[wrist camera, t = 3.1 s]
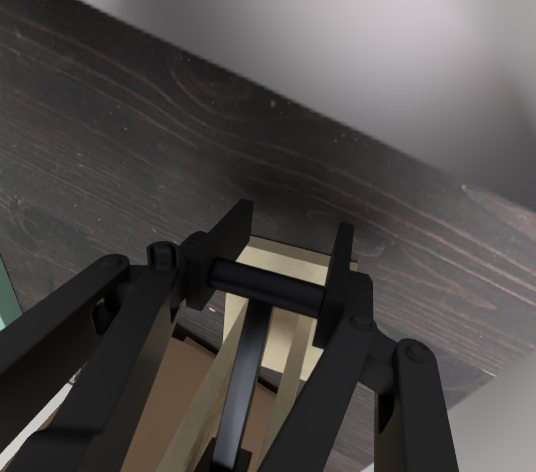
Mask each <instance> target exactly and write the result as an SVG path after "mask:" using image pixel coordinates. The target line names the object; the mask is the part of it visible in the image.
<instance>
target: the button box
mask: <svg viewBox="0 0 536 472" xmlns="http://www.w3.org/2000/svg"><path fill="white" fill-rule="evenodd" d="M21 315H23V314H22V311H21V308H20V306H19V303H18V301H17V298H16V295H15V293H14V290H13V288H12V285H11V282H10V280H9V277H8V275H7V272H6V269H5V267H4V264H3V262H2V259H1V257H0V331H1V330H2V329H4V328H5V327H6V326H8V325H9V324H10V323H12V322H13V321H14V320H16V319H17V318H19V317H20V316H21Z"/></svg>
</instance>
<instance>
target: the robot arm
mask: <svg viewBox="0 0 536 472" xmlns="http://www.w3.org/2000/svg"><path fill="white" fill-rule="evenodd" d="M253 205H254V201H249V200H245V199H241V200H240V201H239V202H238V203H237V204H236V205H235V206H234V207H233V208H232V209H231V210H230V211H229V212H228V213H227V214H226V215H225V216H224V217H223V218H222V219H221V220H220V221H219V222H218V224H217V225H216V226H215V227H214V228H213V229H212V230H211V231H210V232H209V233H206V232H202V231H198V232H195V233H193V234H191V235H190V236H189V237H188V238H186V239H185V240H184V241H183V242H182V243H181V245H179V246H177V245H176V244H175V243H173V242H168V241H160V242H155V243H152V244H150V245H149V246H148V247H147V258H148V265H130V262H129V259H128V258H127V257H126V256H124V255H121V254H110V255H106V256H103V257H101V258H100V259H98V260H97V261H95V262H94V263H93V264H91V265H90V266H88V267H87V268H86V269H84V270H83V271H82V272H80V273H79V274H77V275H76V276H75V277H73V278H72V279H71V280H69V281H68V282H67V283H65V284H64V285H62V286H61V287H60V288H58V289H57V290H56V291H54V292H53V293H51V294H50V295H49V296H47V297H46V298H45V299H43V300H42V301H40V302H39V303H38V304H36V305H35V306H34V307H32V308H31V309H30V310H28V311H27V312H25V313H24V314H23V315H21V316H20V317H19V318H17V319H16V320H14V321H13V322H12V323H10V324H9V325H8V326H6V327H5V328H4V329H2V330H1V331H0V454H1V453H2V452H3V451H4V449H5V448H6V447H7V446H8V445H9V444H10V443H11V442H12V441H13V440H14V439H15V438H16V437H17V436H18V434H19V433H20V432H21V431H22V430H23V429H24V428H25V427H26V426H27V425H28V424H29V423H30V421H32V420H33V418H34V417H35V416H36V415H37V414H38V413H39V412H40V411H41V410H42V409H43V408H44V407H45V406H46V405H47V404H48V402H49V401H50V400H51V399H52V398H53V397H54V396H55V395H56V394H57V393H58V392H59V391H60V390H61V389H62V388H63V386H64V385H65V384H66V383H67V382H68V381H69V380H70V379H71V378H72V377H73V376H74V375H75V374H76V373H77V371H78V370H79V369H80V368H81V367H82V366H83V365H84V364H85V363H86V362H87V361H88V360H89V361H88V362H87V364H86V365H85V367H84V369H83V370H82V372H81V374H80V375H79V377H78V378H77V380H76V382H75V383H74V385H73V387H72V388H71V390H70V391H69V393H68V395H67V396H66V398H65V400H64V401H63V403H62V404H61V406H60V408H59V409H58V411H57V413H56V414H55V416H54V417H53V419H52V421H51V422H50V423H49V425H48V426H47V427H46V428H45V429H43V430H39V431H35V432H34V433H33V434H31V435H30V436H29V437H28V438H27V439H26V441H25V442H24V443H23V445H22V446H21V447H20V449H19V450H18V452H17V453H16V455H15V456H14V458H13V459H12V461H11V462H10V464H9V466H8V467H7V469H6V470H5V472H120V471H121V468H122V466H123V463H124V460H125V458H126V455H127V452H128V450H129V447H130V444H131V442H132V439H133V436H134V434H135V431H136V428H137V426H138V423H139V421H140V418H141V415H142V413H143V410H144V407H145V405H146V402H147V399H148V397H149V394H150V391H151V389H152V386H153V383H154V381H155V378H156V375H157V373H158V370H159V367H160V365H161V362H162V359H163V357H164V354H165V351H166V349H167V346H168V343H169V341H170V338H171V336H172V333H173V330H174V328H175V325H176V322H177V320H178V317H179V314H180V310H181V303H182V301H183V300H184V299H185V298H186V307H189V308H192V309H196V310H199V311H202V310H203V308H204V307H205V305H206V304H207V302H208V301H209V299H210V298H211V296H212V295H213V294H214V292H215V291H216V289H213V288H210V287H208V284H207V278H208V273H209V270H210V267H211V265H212V263H213V261H214V260H215V258H217V257H222V258H225V259H229V260H233V261H236V260H237V259H238V257H239V256H240V254H241V253H242V251H243V250H244V249H245V247H246V246H247V244H248V243H249V241H250V232H251V223H252V214H253ZM353 232H354V225H351V224H346V223H342V222H340V225H339V229H338V232H337V236H336V240H335V243H334V247H333V251H332V254H331V258H330V262H329V266H328V271H327V276H326V280H325V285H324V286H326V293H325V297H324V301H323V305H322V309H321V313H320V316H319V319H317V323H316V328H315V333H314V337H313V342H312V346H313V347H316V348H319V349H323V350H324V351H323V352H322V354H321V356H320V358H319V360H318V361H317V363H316V365H315V367H314V369H313V370H312V372H311V374H310V376H309V378H308V379H307V381H306V383H305V385H304V387H303V388H302V390H301V392H300V394H299V396H298V397H297V399H296V401H295V403H294V405H293V406H292V408H291V410H290V412H289V414H288V415H287V417H286V419H285V421H284V423H283V424H282V426H281V428H280V430H279V432H278V433H277V435H276V437H275V439H274V441H273V442H272V444H271V446H270V448H269V450H268V451H267V453H266V455H265V457H264V459H263V460H262V462H261V464H260V466H259V468H258V469H257V471H256V472H323V469H324V467H325V464H326V462H327V459H328V457H329V454H330V451H331V449H332V446H333V444H334V441H335V438H336V436H337V433H338V431H339V428H340V425H341V423H342V420H343V418H344V415H345V412H346V410H347V407H348V405H349V402H350V399H351V397H352V394H353V392H354V389H355V387H356V384H357V381H359V382H360V383H362V384H364V385H365V386H367V387H368V388H370V389H371V390H373V391H374V392H375V412H374V472H459V469H458V464H457V459H456V454H455V449H454V444H453V440H452V435H451V430H450V425H449V420H448V415H447V410H446V405H445V400H444V395H443V390H442V386H441V381H440V376H439V371H438V366H437V361H436V358H435V356H434V353H433V352H432V351H431V350H430V349H429V348H428V347H427V346H425V345H424V344H423V343H421V342H419V341H417V340H414V339H408V338H407V339H401V340H400V341H399V342H396V341H394V340H392V339H390V338H388V337H387V336H385V335H384V334H383V333H381V332H380V331H379V330H378V328H377V325H376V322H375V321H374V320H373V282H372V280H371V278H370V277H369V275H368V274H364V273H360V272H356V271H353V270H350V261H351V251H352V241H353ZM100 300H101V302H100V303H99V304H97V303H98V302H99V301H100ZM96 304H97V305H96Z"/></svg>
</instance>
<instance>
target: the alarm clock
mask: <svg viewBox="0 0 536 472" xmlns="http://www.w3.org/2000/svg"><path fill="white" fill-rule="evenodd" d="M216 356H217V355H215V354H214V353H212V352H210V351H209V350H207V349H206V348H204V347H203V346H201V345H200V344H198V343H197V342H195V341H193V340H192V339H190V338H189V337H186V338H185V340H184V341H183V342H182V341H179V340H177V339H175V338H173V337H171V338H170V341H169V343H168V346H167V349H166V351H165V354H164V357H163V359H162V362H161V365H160V367H159V370H158V373H157V375H156V378H155V381H154V383H153V386H152V389H151V391H150V394H149V397H148V399H147V402H146V405H145V407H144V410H143V413H142V415H141V418H140V421H139V423H138V426H137V428H136V431H135V434H134V436H133V439H132V442H131V444H130V447H129V450H128V452H127V455H126V458H125V460H124V463H123V466H122V468H121V471H120V472H155V470H156V467H157V465H158V463H159V461H160V459H161V457H162V455H163V454H164V452H165V451H166V450H167V449H168V447H169V445H170V443H171V441H172V439H173V437H174V435H175V433H176V432H177V430H178V428H179V426H180V424H181V422H182V420H183V418H184V416H185V415H186V413H187V411H188V409H189V407H190V405H191V403H192V401H193V399H194V398H195V396H196V394H197V392H198V390H199V388H200V386H201V384H202V382H203V381H204V379H205V377H206V375H207V373H208V371H209V369H210V367H211V365H212V364H213V362H214V360H215V358H216ZM276 396H277V394H275V393H274V392H272V391H271V390H269V389H267V388H266V387H264V386H263V385H261V384H260V383H258V382H257V384H256V388H255V392H254V397H253V401H252V405H251V409H250V413H249V417H248V421H247V425H246V429H245V433H244V438H243V442H242V446H241V448H243V449H245V450H248V451H250V452H252V458H251V462H250V466H249V470H248V472H255V470H256V466H257V463H258V459H259V456H260V452H261V449H262V445H263V442H264V438H265V435H266V431H267V427H268V424H269V420H270V417H271V413H272V410H273V406H274V403H275V399H276ZM62 403H63V402H62ZM62 403H61V404H62ZM61 404H60V405H59V407H58V408H57V409H56V410H55V411H54V412H53V413H52V414H51V415H50V416H49V418H48V419H47V420H46V421H45V422H44V423H43V424H42V425H41V426H40V427H39V428H38V429H37V431H39V430H43V429H45V428H46V427H47V426H48V425H49V423H50V422H51V421H52V419H53V417H54V416H55V414H56V413H57V411H58V409H59V408H60V406H61ZM218 429H219V427H218ZM218 429H217V431H216V434H215V436H214V437H215V438H216V437H217V433H218ZM17 452H18V451H17ZM17 452H16V453H17ZM16 453H15V455H16ZM15 455H14V456H15ZM14 456H13V457H12V458H11V459H10V460H9V461H8V462H7V463H6V465H5V466H4V467H3V469H2V470H1V471H0V472H5V470H6V469H7V467H8V466H9V464H10V462H11V461H12V459H13V458H14Z"/></svg>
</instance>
